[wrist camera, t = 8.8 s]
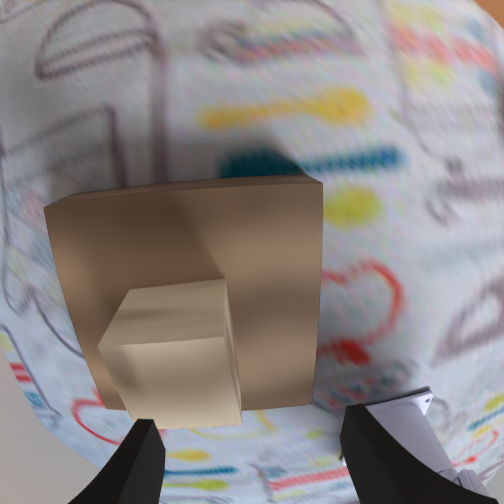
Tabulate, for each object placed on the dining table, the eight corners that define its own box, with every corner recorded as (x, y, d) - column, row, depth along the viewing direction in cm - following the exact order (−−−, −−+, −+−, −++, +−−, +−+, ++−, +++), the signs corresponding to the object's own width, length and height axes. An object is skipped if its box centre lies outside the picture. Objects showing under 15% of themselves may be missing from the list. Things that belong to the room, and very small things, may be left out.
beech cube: (238, 357, 18) (242, 424, 13) (154, 365, 18) (136, 428, 13) (225, 278, 16) (223, 336, 11) (129, 289, 16) (97, 345, 11)
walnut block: (300, 366, 23) (311, 404, 19) (120, 373, 23) (106, 408, 19) (304, 173, 18) (322, 183, 15) (75, 192, 18) (43, 207, 14)
